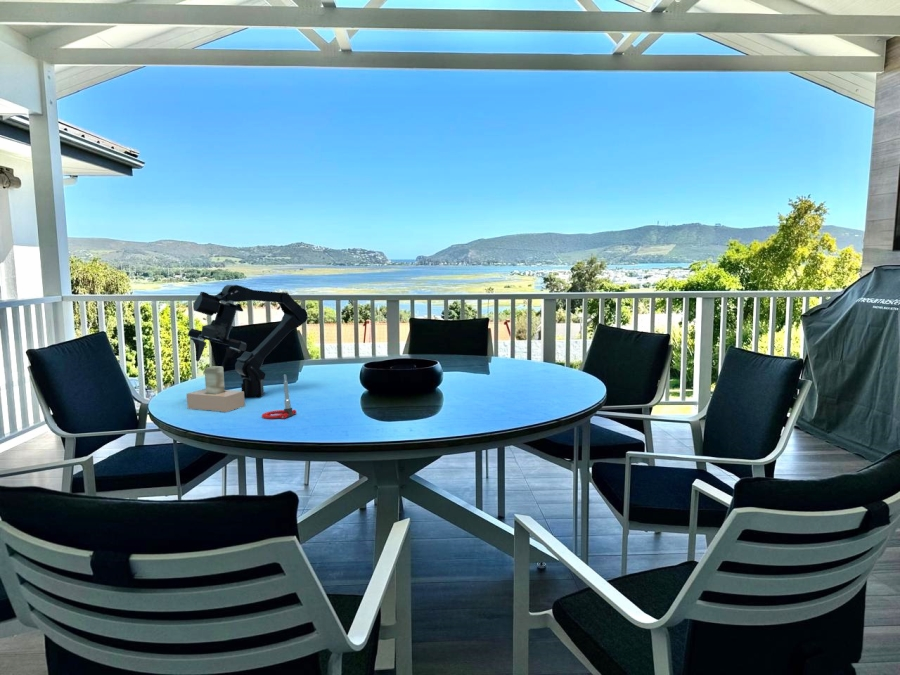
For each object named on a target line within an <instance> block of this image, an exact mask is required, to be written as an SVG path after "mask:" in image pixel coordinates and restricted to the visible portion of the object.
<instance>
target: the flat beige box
mask: <svg viewBox="0 0 900 675" xmlns="http://www.w3.org/2000/svg"><path fill="white" fill-rule="evenodd" d="M186 405H187V409H188V408H189V410H196V409H200V410H199V411H207V410H211V411H210V412H218V411H221V412H220V413H229V412H231V410H232V411H234V409H235V410H238V409H241V408H244V407H246V402H245V398H244V391H242V390H229V389H225V392H223V393H220V394H216V395H215V394H206V388H203V389H200V390H199V389H198V390H195V391H191V392H188V393H186ZM240 407H241V408H240ZM237 408H238V409H237ZM228 411H229V412H228Z"/></svg>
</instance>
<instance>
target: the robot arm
mask: <svg viewBox="0 0 900 675" xmlns="http://www.w3.org/2000/svg"><path fill="white" fill-rule="evenodd" d="M246 301H247V302H248V301H257V302H259V301H260V302H267V303H268V302H270V303H277V304H278V306H279V307H280V310H281V311H282V312H283V315H282V318H281V321H280V323H279V324H278V325H277V326H276V327H275V328H274V329H273V330H272V331H271V332H270V334H268V335H267V337H266V338H264V339H263V341H262V342H261V343H260V344H258V345H257V347H255V349H253V350H252V351H251V352H250V351H246V350H247V343H246V342H244V341H242V340H239V339H238V340H237V339H233V338H230V337H229V335H230V332H231V330H232V329H233V328H234V326H233V322H234V320H235V317H236V313H237V312H244V309H243V307H242V306H241V305H242V304H241V303H239V302H246ZM223 302H226V303H223ZM231 302H233V303H231ZM234 302H235V303H236V302H237V303H236V304H235V303H234ZM192 307H193V311H194V312H197V313H201V314H204V315H207V316H210V317H212V316H213V315H215V318H214V319H212V321H211V323H210V324H205V325H202V327H201V330H199V329H195V328H190V330H188V333H187V334H186V335H187V336H188V337H190V340H191V341H193V344H194V347H195V350H194V351H195V361H196V362H199V361H201V360H200V359H201V357H202V356H203V352H204V349H205V347H206V345H207V342H206V341H209V342H213V343H218V344H222V345H225V346H226V347H225V355H224V358H223V359H222V362H221V367H223V369H224V368H225V367H226V366H227V365H229V364H228V363H230V362H231V360H232V359H234V357H235V356H236V355H237V354H240V353H242V351H243V353H242V354H241V356H239V357H238V358H236V360H237V361H236V362H235V364H234V368H235V369H234V370H235V371H236V373H237V374H239V376H240V378H241V379H242V383H241V385H240V386H241V391H244V399H246V398H261V397H263V396H264V395H266V392H265V391H264V380H265V377H266V373H265V371H264V370H262V369H261V367H262V365H263V363H264V360H265V359H266V357H268V355H269V354H270V353H271V352H272V351H273V350H274V349H275V348H276V347H277V346H278V345H279V344H280V343H281V342H282V341H283V339H285V337H286V336H288V334H289V333H290V332H292V331H293V330H295V329H298V328H299V327H301V326H302V325H303V324H305V323H306V322H307V320H308V318H309V317H308V312H307V310H306V309H305V308H303V307H302V306H301V305H300V304H299V303H298V302H297V301H296V300H295V299H294V298H292V297H291V295H290V294H289V293H288V292H280V291H279V292H276V291H267V290H266V291H265V290H256V289H251V288H248V287H245V286H242V285H238V284H226V285H225V286H224V287H222V289H221V291H220V292H219V293H217V294H216V295H212V294H209V293H208V292H204V291H200V292H199V295H198V296H197V297H196V299H195V300H194V303H193V306H192ZM227 346H228V347H227Z"/></svg>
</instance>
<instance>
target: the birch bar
mask: <svg viewBox="0 0 900 675" xmlns="http://www.w3.org/2000/svg"><path fill="white" fill-rule="evenodd" d="M221 366H222V365H221ZM221 366H218V365H213V366H209V367H204V382H205V384H204V385H205V389H206V394H215V395H216V394H220V393H223V392H225V390H226V389H225V388H226V387H225V376H224V375H225V373H224V368H223V367H221Z"/></svg>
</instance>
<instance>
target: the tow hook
mask: <svg viewBox="0 0 900 675" xmlns="http://www.w3.org/2000/svg"><path fill="white" fill-rule="evenodd" d="M283 390H284V409H280V410H279V409H277V410H271V411H266V412H264V413H262V415H261V418H262V419H267V420H268V419H269V420H273V419H281V420H285V419H286V418H290V417H292V416H293V415H296V414H297V410H296V409H293V407H292V406H291V400H290V392H289V383H288V378H287V374H283ZM271 414H272V415H271Z"/></svg>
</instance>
